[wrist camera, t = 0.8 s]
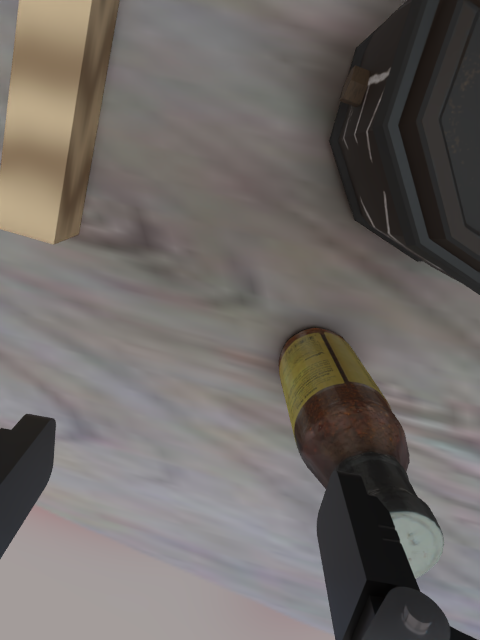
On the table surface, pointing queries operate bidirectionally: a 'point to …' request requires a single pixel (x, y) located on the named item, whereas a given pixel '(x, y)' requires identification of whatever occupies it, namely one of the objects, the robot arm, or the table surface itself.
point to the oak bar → (53, 114)
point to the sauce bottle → (354, 434)
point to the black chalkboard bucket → (417, 135)
